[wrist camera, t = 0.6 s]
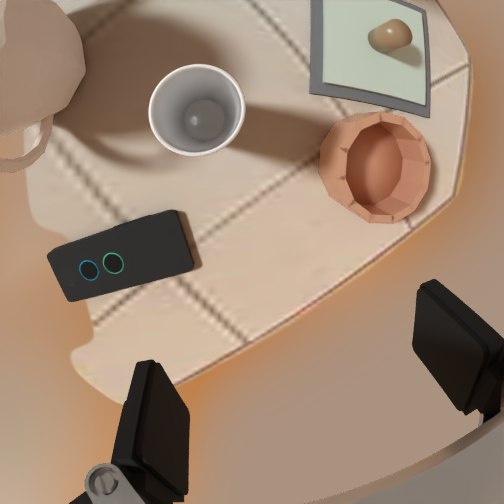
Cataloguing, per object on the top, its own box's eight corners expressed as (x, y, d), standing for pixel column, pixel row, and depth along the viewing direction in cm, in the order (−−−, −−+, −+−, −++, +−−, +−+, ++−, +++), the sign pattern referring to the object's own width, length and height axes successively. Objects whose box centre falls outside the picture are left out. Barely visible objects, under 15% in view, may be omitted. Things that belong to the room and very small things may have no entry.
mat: (310, -25, 25) (311, -27, 25) (423, 10, 27) (425, 10, 27) (309, 93, 32) (310, 93, 31) (427, 117, 34) (429, 117, 34)
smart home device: (44, 253, 34) (174, 209, 34) (49, 248, 36) (176, 205, 36) (68, 304, 37) (195, 271, 37) (73, 298, 39) (196, 265, 39)
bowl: (322, 108, 33) (341, 104, 27) (407, 123, 34) (434, 125, 29) (315, 208, 37) (331, 221, 32) (397, 212, 39) (421, 225, 33)
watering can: (91, -29, 21) (32, -94, 4) (117, 137, 31) (28, 146, 14) (3, 21, 21) (-76, -4, 3) (22, 178, 31) (-75, 219, 14)
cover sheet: (322, -16, 26) (338, -35, 20) (418, 14, 27) (441, 4, 22) (322, 83, 31) (341, 75, 26) (421, 105, 33) (448, 104, 27)
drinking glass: (241, 99, 31) (258, 73, 18) (227, 154, 34) (233, 167, 20) (184, 87, 30) (160, 55, 16) (170, 143, 32) (137, 149, 19)
